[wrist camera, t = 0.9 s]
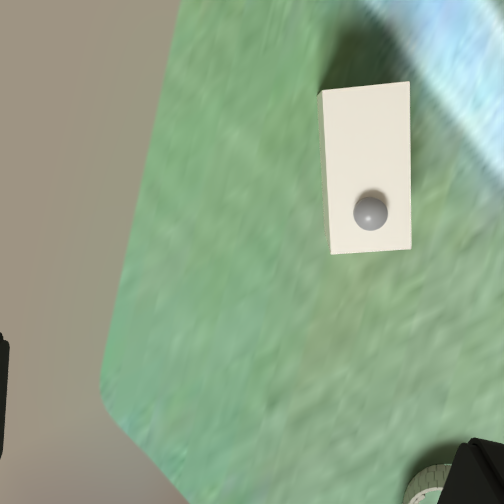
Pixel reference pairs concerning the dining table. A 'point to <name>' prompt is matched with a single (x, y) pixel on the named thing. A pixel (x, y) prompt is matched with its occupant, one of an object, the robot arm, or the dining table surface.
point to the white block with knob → (366, 167)
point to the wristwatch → (426, 483)
